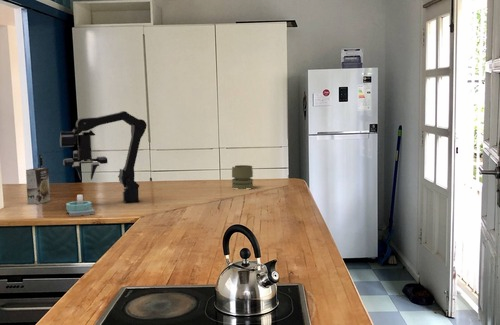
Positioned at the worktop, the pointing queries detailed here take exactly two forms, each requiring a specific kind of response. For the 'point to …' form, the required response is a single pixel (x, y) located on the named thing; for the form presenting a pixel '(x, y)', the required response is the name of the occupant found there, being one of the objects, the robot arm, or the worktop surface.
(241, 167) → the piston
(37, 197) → the coffee box
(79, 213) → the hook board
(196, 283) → the worktop surface
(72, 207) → the teal ring
